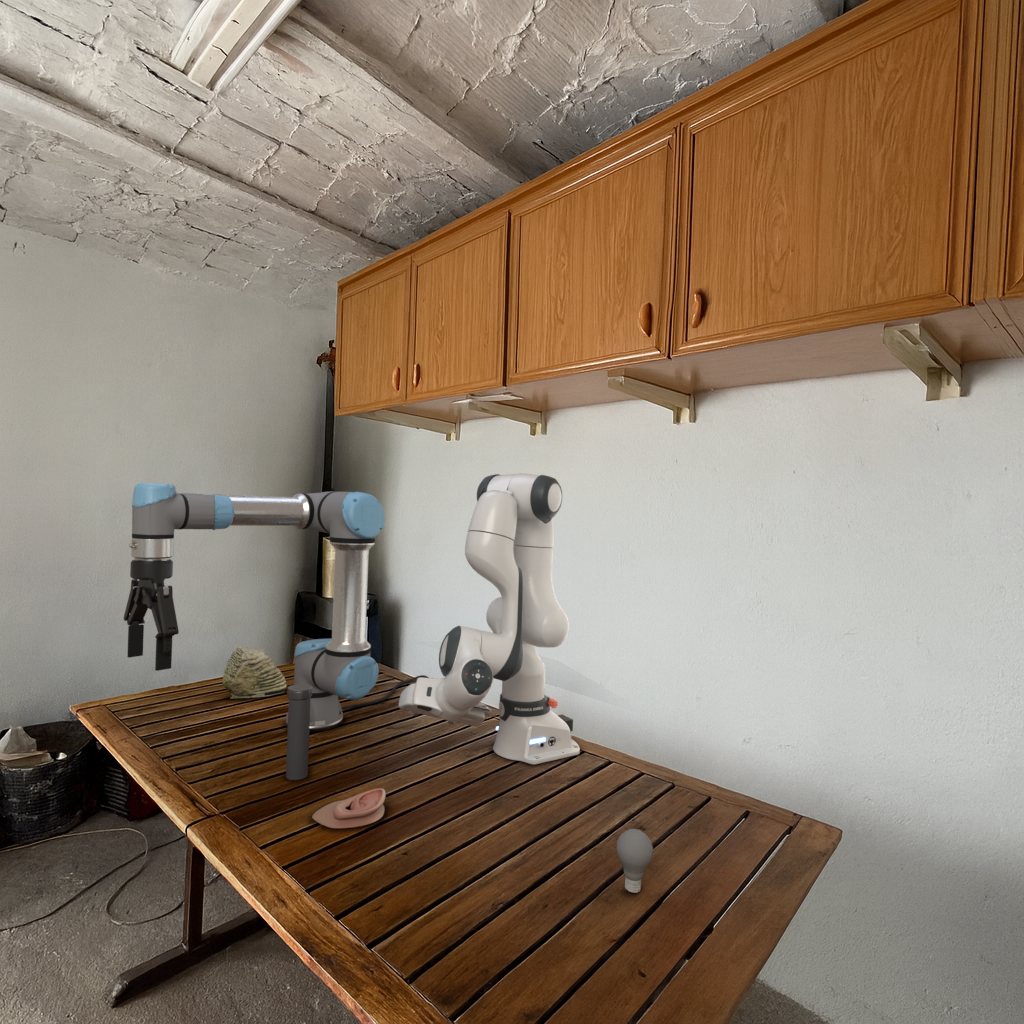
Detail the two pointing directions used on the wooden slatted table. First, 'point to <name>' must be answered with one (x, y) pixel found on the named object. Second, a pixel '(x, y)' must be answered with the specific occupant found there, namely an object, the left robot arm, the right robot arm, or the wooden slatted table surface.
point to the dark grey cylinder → (298, 739)
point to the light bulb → (634, 857)
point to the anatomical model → (353, 810)
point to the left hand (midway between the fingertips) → (148, 662)
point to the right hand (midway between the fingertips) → (432, 716)
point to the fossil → (252, 674)
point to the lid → (299, 691)
